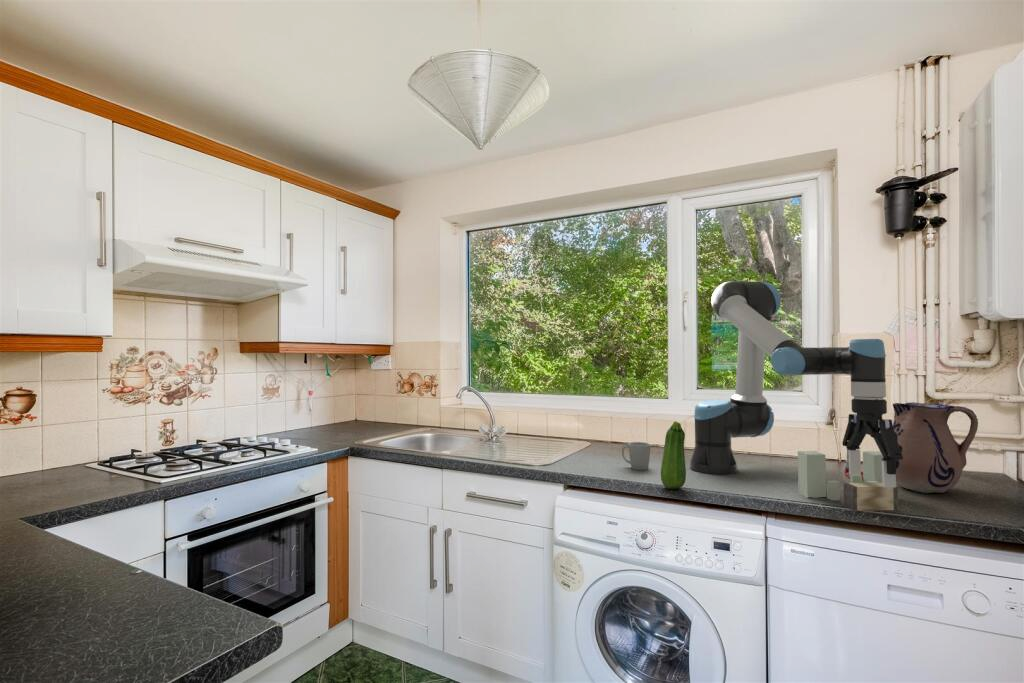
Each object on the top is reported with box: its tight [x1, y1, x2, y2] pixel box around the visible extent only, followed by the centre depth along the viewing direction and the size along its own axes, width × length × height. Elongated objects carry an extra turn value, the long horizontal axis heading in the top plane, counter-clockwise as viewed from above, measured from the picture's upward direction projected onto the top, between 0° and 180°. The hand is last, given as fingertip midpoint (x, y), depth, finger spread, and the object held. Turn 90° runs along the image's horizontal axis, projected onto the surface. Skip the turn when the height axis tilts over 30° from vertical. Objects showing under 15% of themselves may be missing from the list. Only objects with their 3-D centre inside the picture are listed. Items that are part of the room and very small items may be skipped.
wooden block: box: [843, 482, 899, 512], centre depth 132 cm, size 11×4×6 cm, turn 87°
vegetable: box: [660, 420, 687, 490], centre depth 152 cm, size 7×7×20 cm
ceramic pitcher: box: [892, 401, 979, 494], centre depth 148 cm, size 18×21×25 cm
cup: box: [621, 441, 652, 471], centre depth 178 cm, size 8×10×8 cm
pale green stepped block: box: [797, 450, 841, 501], centre depth 143 cm, size 8×9×12 cm
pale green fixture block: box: [849, 450, 889, 483], centre depth 143 cm, size 8×9×12 cm
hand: (871, 480), depth 132 cm, fingers open, 13 cm apart
